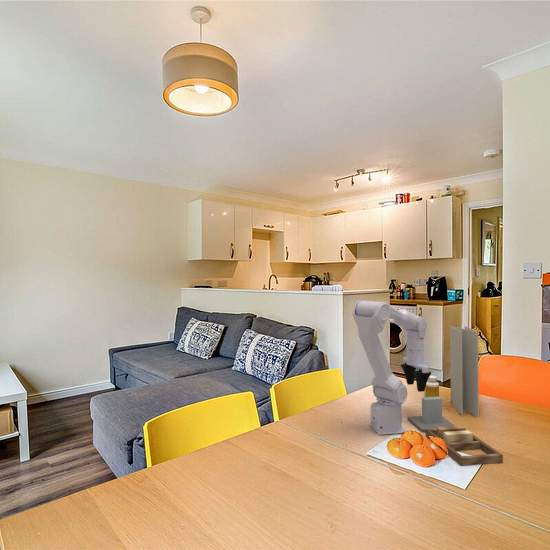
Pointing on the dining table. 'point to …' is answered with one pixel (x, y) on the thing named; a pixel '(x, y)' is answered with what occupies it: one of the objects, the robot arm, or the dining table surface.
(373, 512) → the dining table surface
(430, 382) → the supplement bottle
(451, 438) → the birch offcut
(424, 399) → the grey rectangular block
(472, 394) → the brochure
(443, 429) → the stained offcut
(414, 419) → the rubber mat
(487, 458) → the walnut rack
